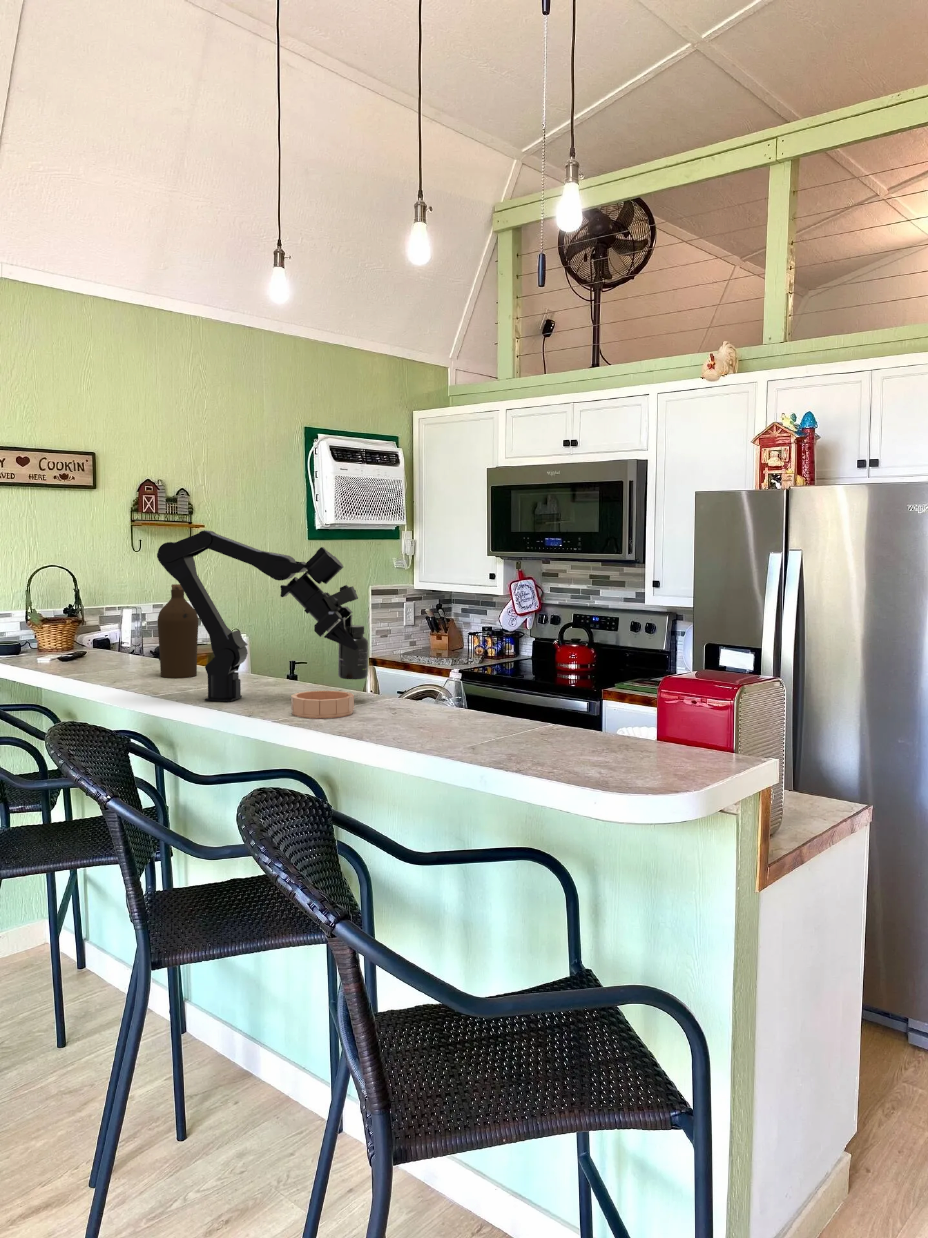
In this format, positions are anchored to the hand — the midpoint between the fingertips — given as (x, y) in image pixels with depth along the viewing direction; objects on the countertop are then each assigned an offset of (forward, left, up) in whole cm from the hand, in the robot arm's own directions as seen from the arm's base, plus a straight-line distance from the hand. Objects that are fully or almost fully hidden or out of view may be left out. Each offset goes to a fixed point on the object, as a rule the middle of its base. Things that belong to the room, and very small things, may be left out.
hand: (359, 647), depth 207 cm
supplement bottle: (-1, 0, -7) cm, 7 cm away
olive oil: (-60, +27, -13) cm, 67 cm away
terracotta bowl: (-3, -15, -13) cm, 20 cm away
